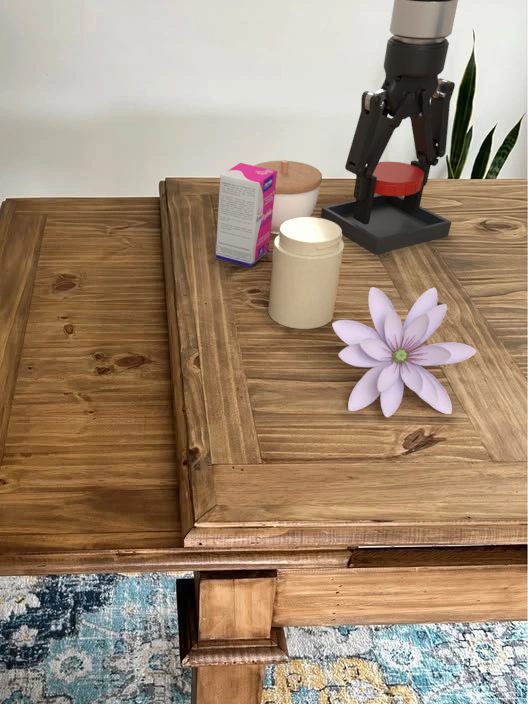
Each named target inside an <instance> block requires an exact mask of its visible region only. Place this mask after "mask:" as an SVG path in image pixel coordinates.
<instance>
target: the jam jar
mask: <svg viewBox="0 0 528 704" xmlns="http://www.w3.org/2000/svg"><path fill="white" fill-rule="evenodd" d="M343 236H344V235H342V230H341V228H340V226H338V225H337V224H336V223H334V222H332V221H329V220H326V219H322V218H321V217H313V216H310V217H300V218H294V219H290V220H287V221H285V222H284V223H283V224H282V225H281V226H280V231H279V234H277V235H276V236H275V238H274V240H273V250H272V261H271V272H270V283H269V284H270V285H269V294H268V295H269V297H268V306H267V312H268V316H269V317H270V318H271V320H273V322H275V323H277V324H279V325H281V326H284V327H287V328H292V329H296V330H297V329H298V330H312V329H317V328H321V327H324V326H325V325H328V324H329V323H330V322H331V321H332V320H333V319H334V314H335V308H336V303H337V302H336V301H337V295H338V289H339V284H340V283H339V282H340V276H341V270H342V262H343V256H344V249H345V243H344V240H343Z"/></svg>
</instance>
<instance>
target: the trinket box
mask: <svg viewBox="0 0 528 704" xmlns="http://www.w3.org/2000/svg"><path fill="white" fill-rule="evenodd" d="M253 166H257V167H262V168H267V169H272V170H276V171H277V177H276V186H275V196H274V205H273V215H272V224H271V234H273V235H279V231H280V226H281V225H282V224H283V223H284V222H285V221H287V220H290V219H294V218H300V217H312V215H313V213H314V211H315V208H316V206H317V203H318V199H319V195H320V189H321V184H322V180H323V174H322V172H321V171H320V169H318V168H317V167H315V166H313V165H310V164H308V163H304V162H300V161H293V160H286V159H284V160H272V161H271V160H270V161H265V162H264V161H263V162H260V163H256V164H254V165H253Z"/></svg>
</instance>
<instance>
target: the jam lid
mask: <svg viewBox="0 0 528 704" xmlns="http://www.w3.org/2000/svg"><path fill="white" fill-rule="evenodd" d="M366 167H367V165H366ZM373 176H375V177H377V180H376V186H375V192H374V195H385V196H401V197H404V196H406V195H411V194H415V193H417V192H418V191H420V190H421V187H422V182H423V177H424V172H423V171H422V170H421V169H420V168H418V167H416V166H414V165H411V163H407V162H401V161H379V163H378V165H377V167H376V169H375V171H374V173H373Z"/></svg>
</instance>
